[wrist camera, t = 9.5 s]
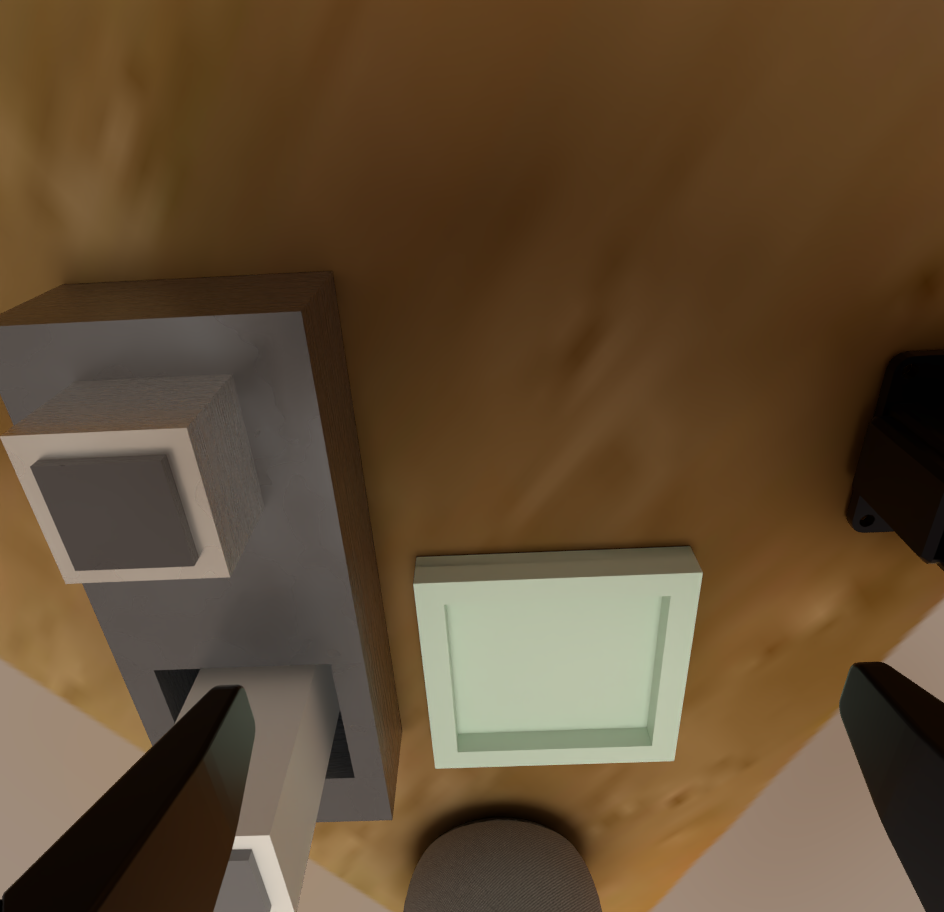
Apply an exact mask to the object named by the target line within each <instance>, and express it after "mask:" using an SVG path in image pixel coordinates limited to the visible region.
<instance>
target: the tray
mask: <svg viewBox="0 0 944 912" xmlns="http://www.w3.org/2000/svg"><path fill="white" fill-rule="evenodd" d="M702 575H703V572H702V570H701V568H700V566H699V564H698V561H697V559H696V557H695V555H694V553H693V551H692V549H691V547H690V546H682V547H657V548H632V549H607V550H582V551H557V552H532V553H507V554H482V555H456V556H431V557H416V565H415V574H414V582H413V586H414V594H415V602H416V611H417V619H418V627H419V636H420V644H421V652H422V661H423V669H424V678H425V686H426V694H427V703H428V711H429V719H430V728H431V736H432V744H433V753H434V761H435V769H439V768H470V767H501V766H533V765H564V764H595V763H626V762H658V761H674V758H675V752H676V745H677V738H678V732H679V725H680V719H681V712H682V706H683V699H684V693H685V686H686V680H687V673H688V666H689V660H690V653H691V647H692V640H693V634H694V627H695V621H696V614H697V607H698V601H699V594H700V588H701V581H702Z"/></svg>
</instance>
